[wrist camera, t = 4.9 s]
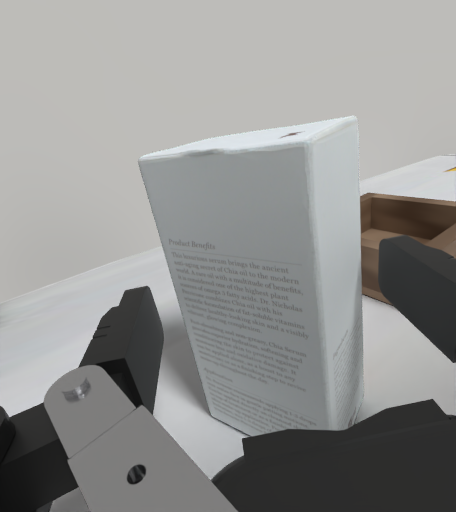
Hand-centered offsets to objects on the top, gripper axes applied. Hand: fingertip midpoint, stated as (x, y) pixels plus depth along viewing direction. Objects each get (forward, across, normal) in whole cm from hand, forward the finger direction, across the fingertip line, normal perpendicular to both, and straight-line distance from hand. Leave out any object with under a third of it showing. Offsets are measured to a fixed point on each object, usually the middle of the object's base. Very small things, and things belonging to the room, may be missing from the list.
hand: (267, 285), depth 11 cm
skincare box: (+1, 0, +7) cm, 7 cm away
